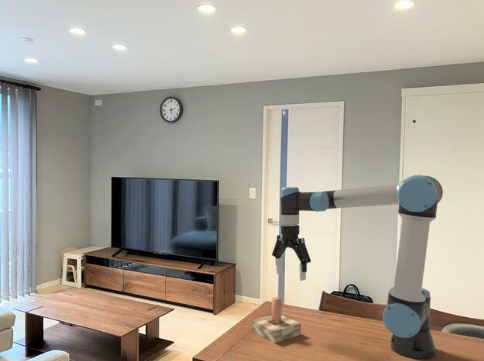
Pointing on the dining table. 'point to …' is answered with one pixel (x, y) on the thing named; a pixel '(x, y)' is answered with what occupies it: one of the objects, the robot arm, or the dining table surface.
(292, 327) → the socket block
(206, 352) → the dining table surface
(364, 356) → the dining table surface
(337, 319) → the dining table surface
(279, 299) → the peg
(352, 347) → the dining table surface
